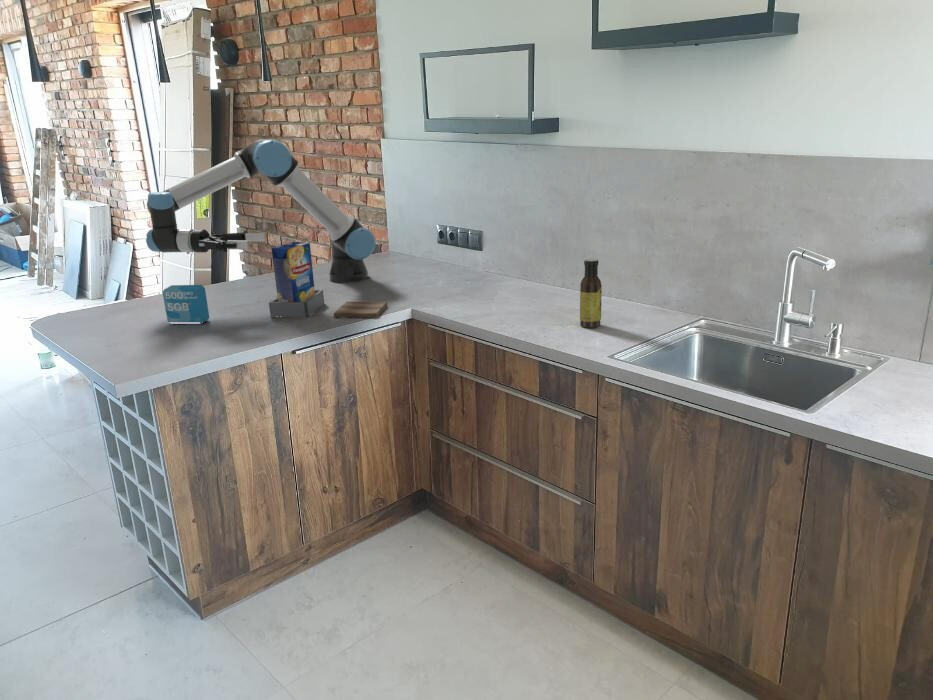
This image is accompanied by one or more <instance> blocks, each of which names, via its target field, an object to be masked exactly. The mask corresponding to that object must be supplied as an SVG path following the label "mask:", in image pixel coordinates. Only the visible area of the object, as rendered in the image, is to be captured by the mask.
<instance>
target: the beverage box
mask: <svg viewBox="0 0 933 700" xmlns="http://www.w3.org/2000/svg"><path fill="white" fill-rule="evenodd" d="M271 254H272V262H273V263H272V264H273V271H274V279H275V286H276V294H277V296H276V297H278V302H305V301H307V300H308V299H309V298H311V297H312V296H313V295H315V290H316V289H315V280H314V271H313V261H312V251H311V243H310V242H300V241H291V242H289V243H283V244H279V245H277V246H273V247H271Z"/></svg>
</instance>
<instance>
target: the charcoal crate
mask: <svg viewBox="0 0 933 700" xmlns="http://www.w3.org/2000/svg"><path fill="white" fill-rule="evenodd" d="M323 304H324V305H325V298H324V290H323V289H315V295H313V296H312V297H311V298H309V299H308V300H307V301H305V302H278V297H277V296H276V297H275V298H273V299H272V300H270V301H268V307H269V314H270V318H282V317H308V318H309V317H310V315H311V314H312V313H313V314H314V313H315V312H316V311H318V310H319V309H320V308H321V307H323V306H324V305H323ZM318 308H319V309H318ZM317 309H318V310H317ZM313 314H312V315H313ZM312 315H311V316H312ZM276 316H278V317H276ZM280 316H282V317H280Z"/></svg>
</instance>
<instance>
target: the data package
mask: <svg viewBox="0 0 933 700" xmlns="http://www.w3.org/2000/svg"><path fill="white" fill-rule="evenodd" d="M162 297H163V298H162V299H163V303H164V309H165V314H166V319H167V323H168V322H200V323H202V322H204V323H206V322H207V321H208V320H209V319H210V312H209V305H208V301H207V300H208V299H207V293H206V289H205V287H204V286H203V285H202V284H175V285H174V284H173V285H172V284H171V285H169V286H168V287H166V288H164V289H163V290H162ZM206 320H207V321H206ZM205 321H206V322H205Z"/></svg>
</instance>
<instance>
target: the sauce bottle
mask: <svg viewBox="0 0 933 700" xmlns="http://www.w3.org/2000/svg"><path fill="white" fill-rule="evenodd" d="M583 265H584V273H583V274H584V276H583V277H582V279H581V280H580V284H579V285H580V289H579V320H580V321H579V324H580V326H581V327H583V328H586V329H587V328H598V327H599V326H601V320H602V299H603V298H602V297H603V296H602V295H603V293H602V288H603V287H602V280H601V279H600V278H599V276H598V275H599V273H598V271H599V270H598V269H599V268H598V266H599V259H597V258H585V259H584V261H583Z"/></svg>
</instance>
